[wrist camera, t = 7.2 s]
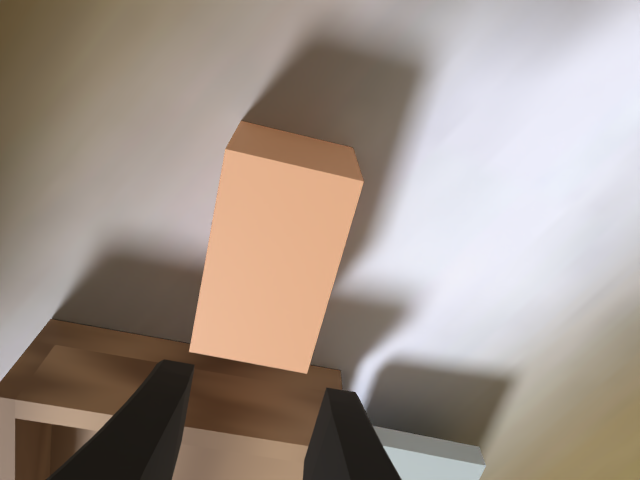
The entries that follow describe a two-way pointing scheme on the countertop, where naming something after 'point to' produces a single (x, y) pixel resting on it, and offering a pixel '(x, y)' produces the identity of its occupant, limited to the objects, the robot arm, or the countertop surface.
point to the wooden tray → (125, 378)
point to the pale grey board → (430, 456)
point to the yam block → (274, 246)
